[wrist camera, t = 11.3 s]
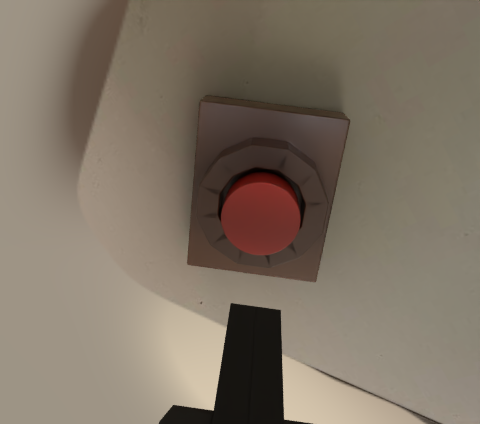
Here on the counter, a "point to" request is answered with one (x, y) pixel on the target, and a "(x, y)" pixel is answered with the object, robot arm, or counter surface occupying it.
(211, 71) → the counter surface
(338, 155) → the switch block
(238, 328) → the robot arm
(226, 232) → the button
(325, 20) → the counter surface
